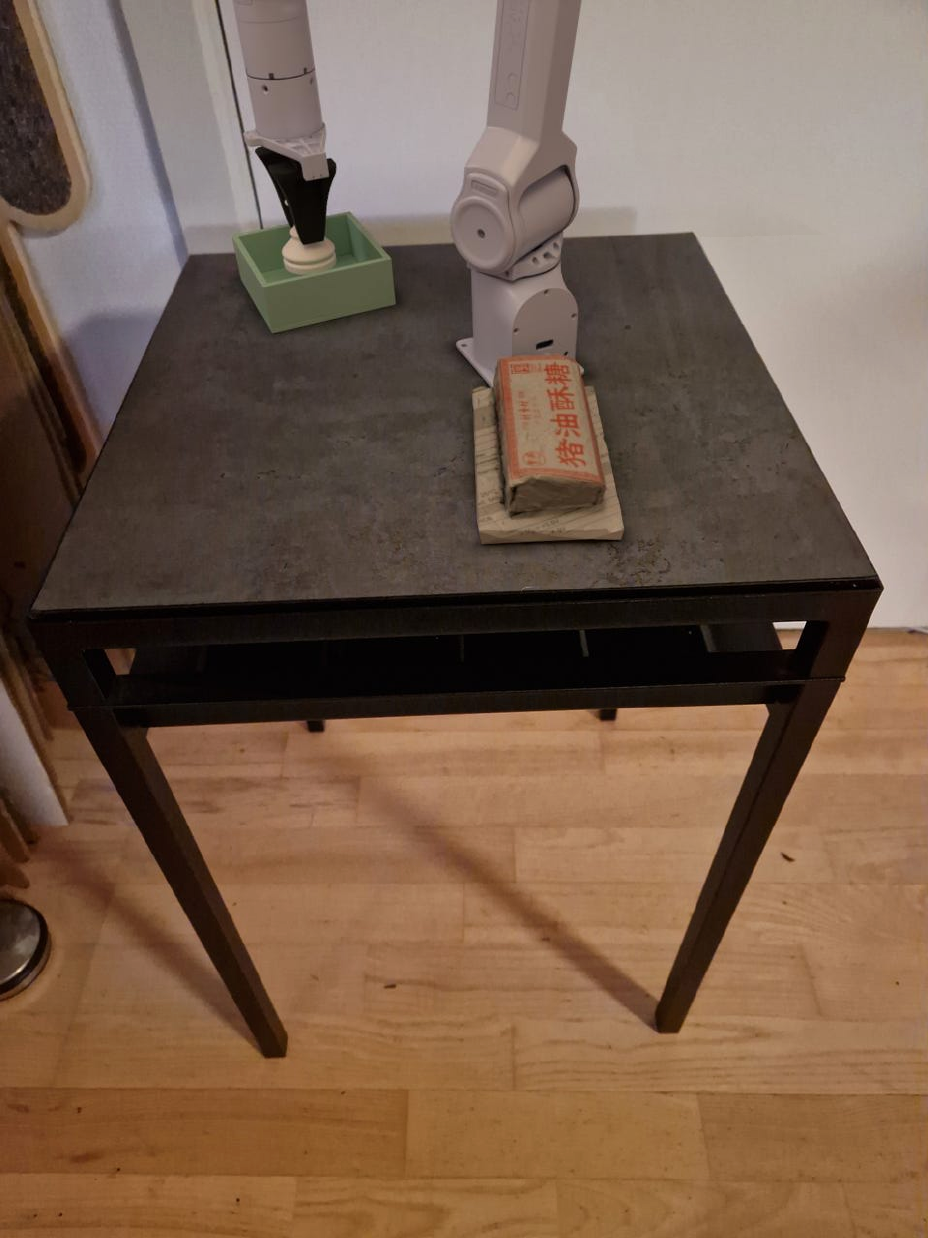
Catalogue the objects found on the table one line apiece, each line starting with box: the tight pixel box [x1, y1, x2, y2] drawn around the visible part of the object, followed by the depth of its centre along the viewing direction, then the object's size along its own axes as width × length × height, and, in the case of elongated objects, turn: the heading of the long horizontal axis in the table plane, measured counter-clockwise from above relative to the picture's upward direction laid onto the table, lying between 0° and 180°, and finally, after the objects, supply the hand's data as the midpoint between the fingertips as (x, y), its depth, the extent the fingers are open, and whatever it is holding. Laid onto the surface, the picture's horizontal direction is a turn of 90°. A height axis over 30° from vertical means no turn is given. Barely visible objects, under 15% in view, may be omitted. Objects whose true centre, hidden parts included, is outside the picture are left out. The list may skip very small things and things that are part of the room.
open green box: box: [230, 210, 397, 334], centre depth 86 cm, size 12×12×4 cm
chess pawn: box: [282, 200, 337, 276], centre depth 83 cm, size 5×5×9 cm
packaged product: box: [471, 354, 625, 545], centre depth 65 cm, size 18×5×10 cm
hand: (307, 234), depth 84 cm, fingers closed on chess pawn, 3 cm apart
